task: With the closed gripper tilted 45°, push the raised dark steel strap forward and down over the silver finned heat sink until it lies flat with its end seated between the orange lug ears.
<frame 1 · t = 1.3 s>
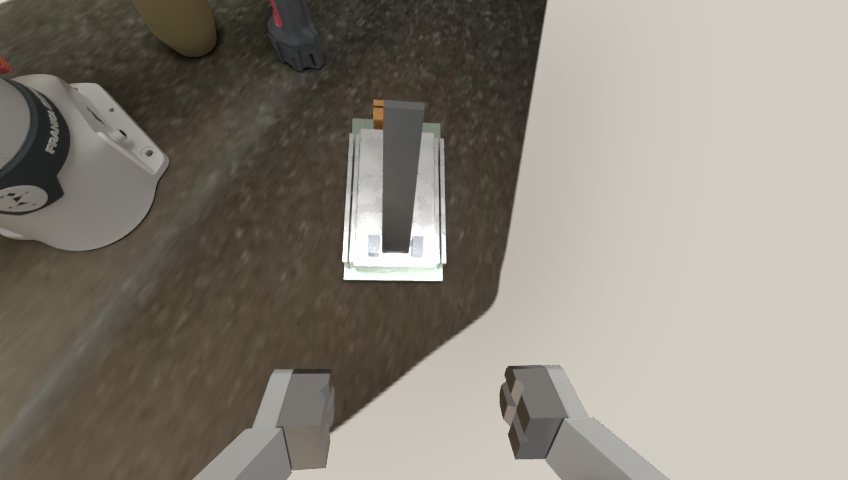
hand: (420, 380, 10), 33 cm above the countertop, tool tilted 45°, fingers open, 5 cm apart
squeeze bottle: (196, 42, 50), on the countertop
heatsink: (395, 199, 47), on the countertop
flashlight: (294, 52, 51), on the countertop
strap: (398, 192, 32), point 14 cm above the countertop, hinge at 65.0°
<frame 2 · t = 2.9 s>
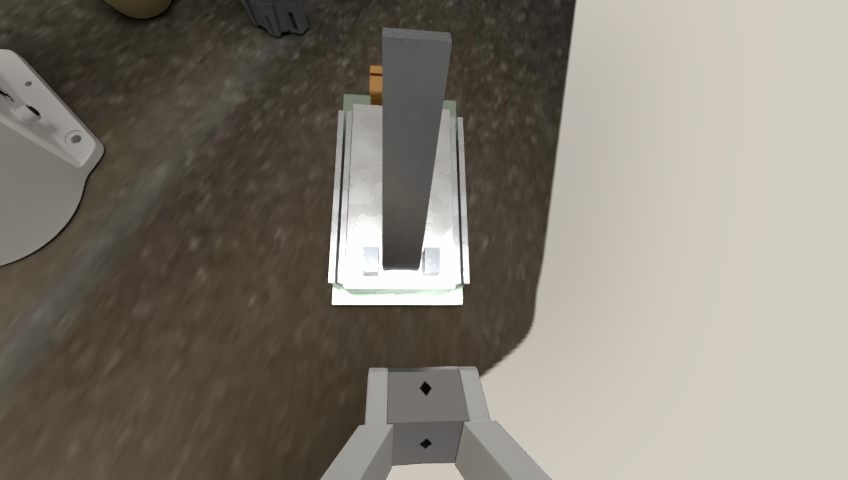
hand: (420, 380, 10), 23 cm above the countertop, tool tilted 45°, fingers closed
squeeze bottle: (146, 1, 39), on the countertop
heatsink: (399, 198, 36), on the countertop
flashlight: (271, 14, 41), on the countertop
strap: (406, 185, 22), point 14 cm above the countertop, hinge at 65.0°
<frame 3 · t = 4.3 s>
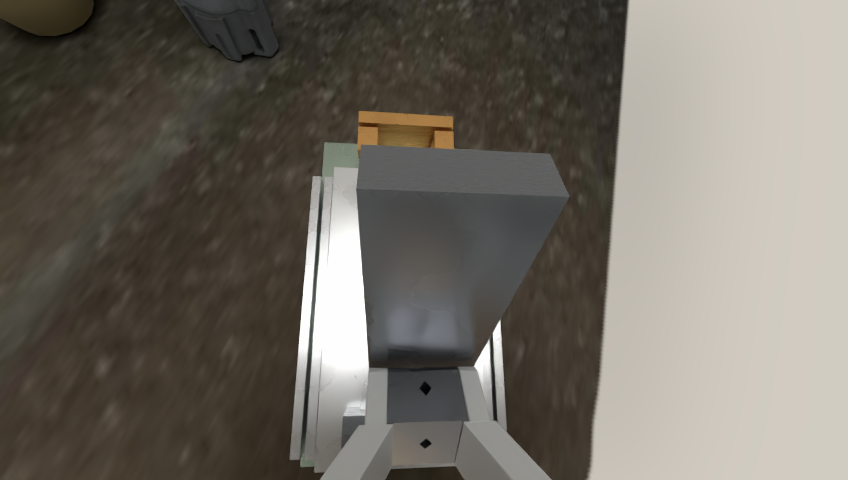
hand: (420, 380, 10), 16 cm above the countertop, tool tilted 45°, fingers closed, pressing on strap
squeeze bottle: (58, 11, 29), on the countertop
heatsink: (400, 288, 26), on the countertop
flashlight: (229, 30, 30), on the countertop
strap: (415, 374, 12), point 14 cm above the countertop, hinge at 65.0°, touching gripper
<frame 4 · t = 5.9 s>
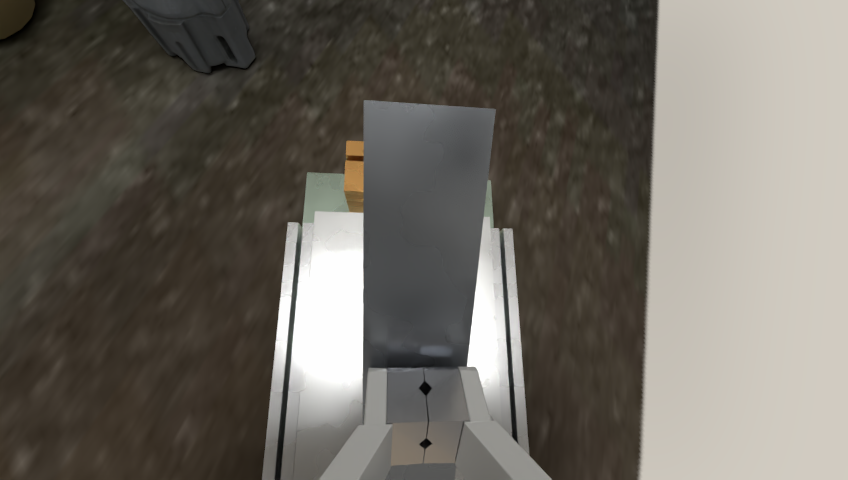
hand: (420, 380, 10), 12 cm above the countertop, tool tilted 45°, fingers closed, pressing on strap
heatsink: (398, 351, 21), on the countertop
flashlight: (198, 36, 26), on the countertop
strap: (411, 402, 11), point 11 cm above the countertop, hinge at 32.8°, touching gripper
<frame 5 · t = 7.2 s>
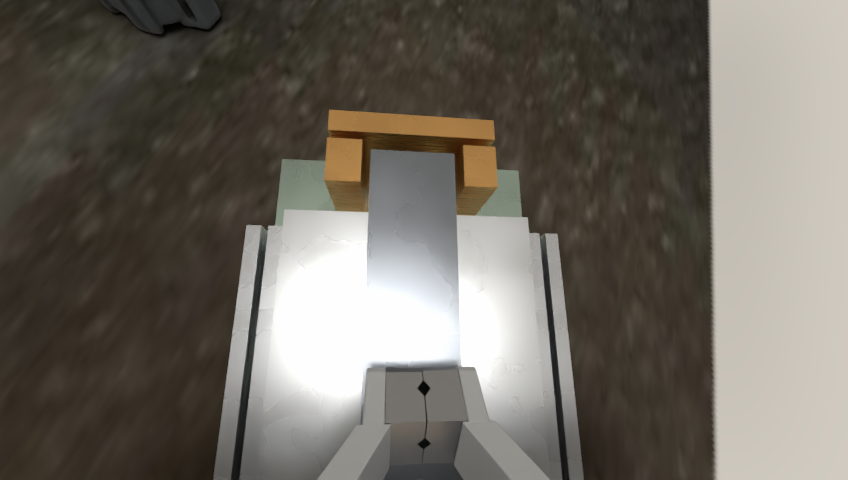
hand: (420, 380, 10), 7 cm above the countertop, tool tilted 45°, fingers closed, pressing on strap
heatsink: (400, 393, 16), on the countertop
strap: (411, 417, 11), point 6 cm above the countertop, hinge at -0.4°, touching gripper, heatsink
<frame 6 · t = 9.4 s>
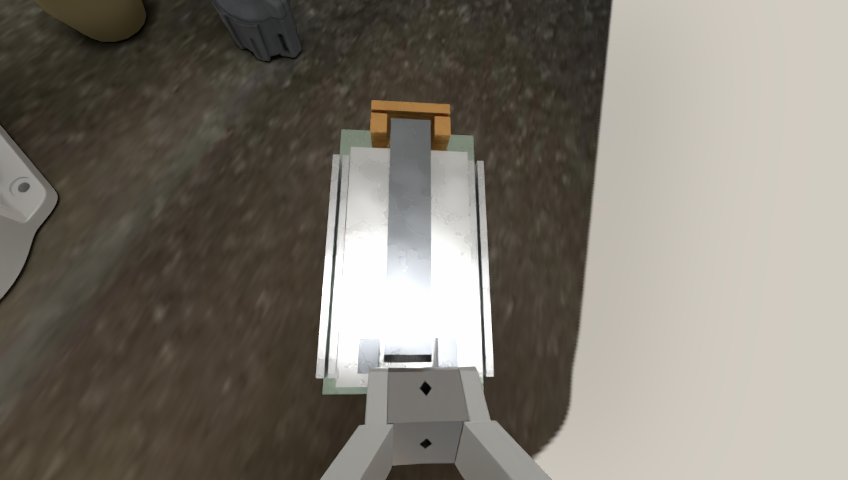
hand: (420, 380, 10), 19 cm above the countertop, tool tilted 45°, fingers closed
squeeze bottle: (116, 21, 34), on the countertop
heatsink: (406, 253, 30), on the countertop
flashlight: (259, 35, 35), on the countertop
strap: (409, 231, 25), point 6 cm above the countertop, hinge at -0.4°, touching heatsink
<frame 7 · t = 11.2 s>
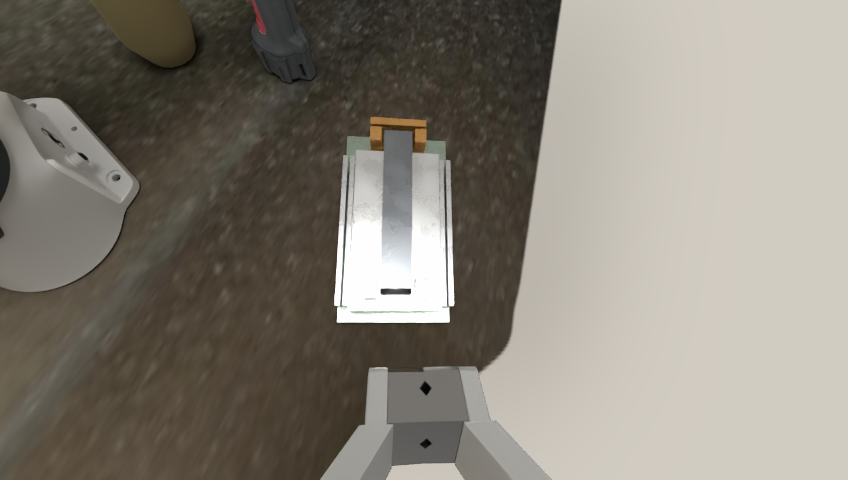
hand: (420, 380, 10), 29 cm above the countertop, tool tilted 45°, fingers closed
squeeze bottle: (172, 50, 44), on the countertop
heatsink: (395, 227, 42), on the countertop
flashlight: (282, 62, 46), on the countertop
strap: (397, 208, 36), point 6 cm above the countertop, hinge at -0.4°, touching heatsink
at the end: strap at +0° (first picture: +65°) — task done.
